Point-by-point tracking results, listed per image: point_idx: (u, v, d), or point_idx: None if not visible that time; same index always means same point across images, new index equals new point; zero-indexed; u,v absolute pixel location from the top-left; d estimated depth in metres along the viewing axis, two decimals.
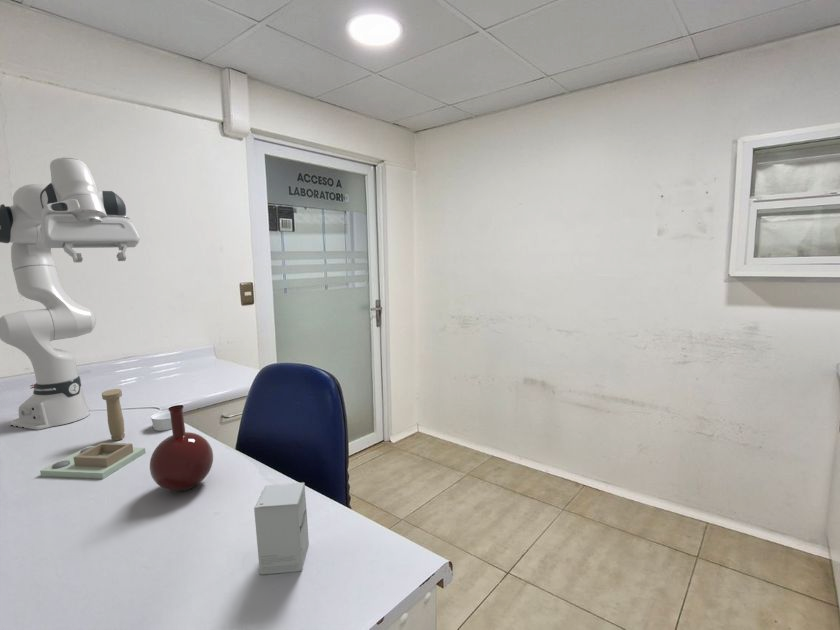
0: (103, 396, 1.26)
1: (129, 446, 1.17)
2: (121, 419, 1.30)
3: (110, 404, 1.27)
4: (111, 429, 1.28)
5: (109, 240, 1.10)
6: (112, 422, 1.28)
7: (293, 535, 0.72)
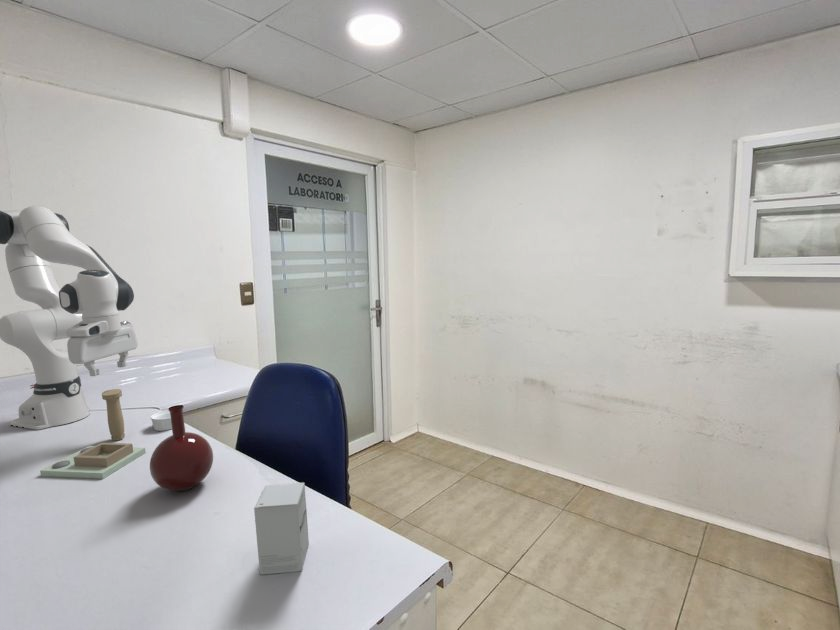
0: (103, 396, 1.26)
1: (129, 446, 1.17)
2: (121, 419, 1.30)
3: (110, 404, 1.27)
4: (111, 429, 1.28)
5: (119, 352, 1.29)
6: (112, 422, 1.28)
7: (293, 535, 0.72)
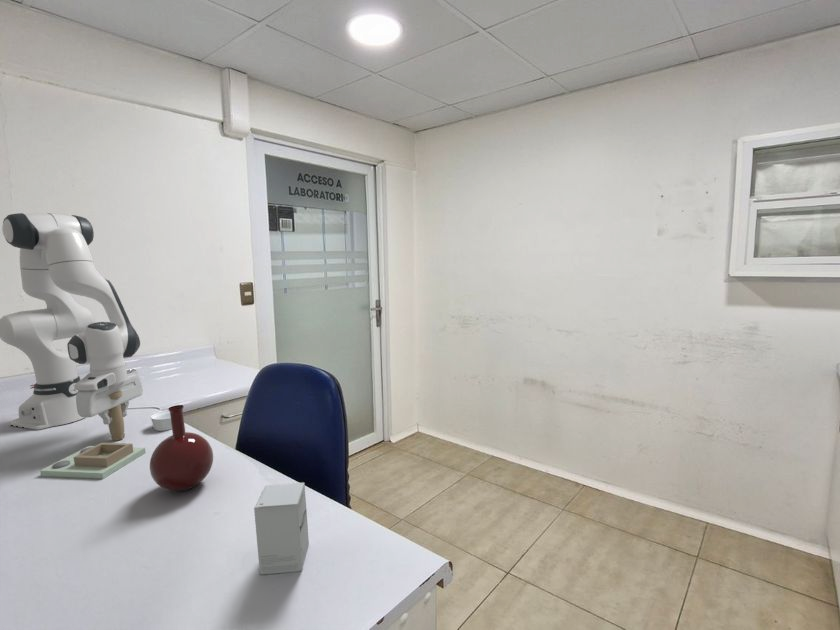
0: None
1: (129, 446, 1.17)
2: (121, 419, 1.30)
3: None
4: (111, 429, 1.28)
5: (125, 401, 1.32)
6: (112, 422, 1.28)
7: (293, 535, 0.72)
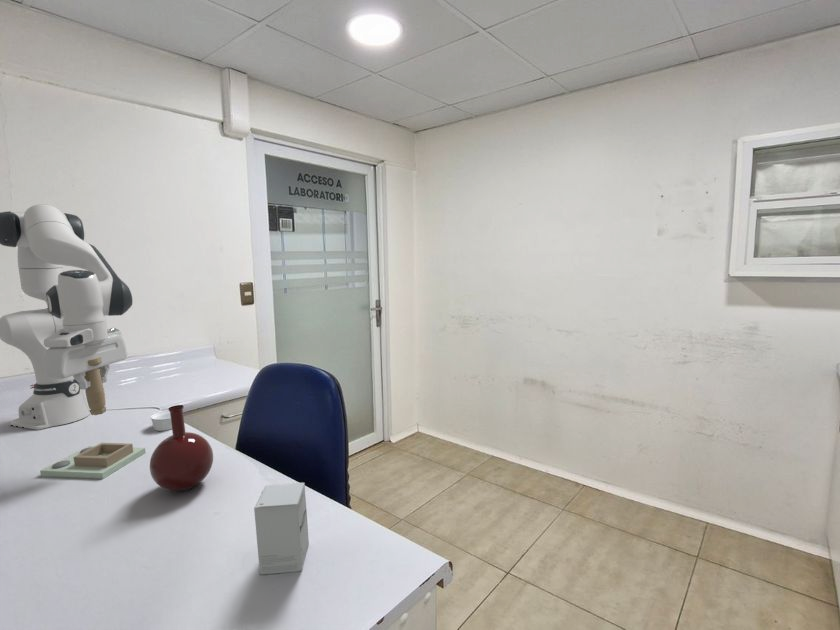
0: None
1: (129, 446, 1.17)
2: (101, 390, 1.12)
3: (87, 372, 1.09)
4: (89, 401, 1.10)
5: (106, 364, 1.13)
6: (90, 393, 1.10)
7: (293, 535, 0.72)
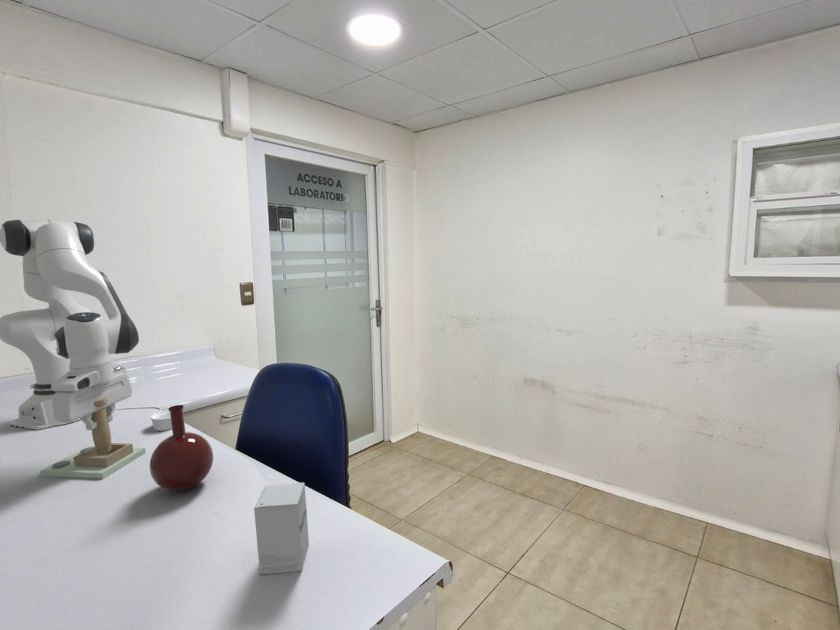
0: None
1: (129, 446, 1.17)
2: (107, 430, 1.13)
3: (93, 413, 1.11)
4: (96, 441, 1.12)
5: (112, 403, 1.15)
6: (96, 433, 1.11)
7: (293, 535, 0.72)
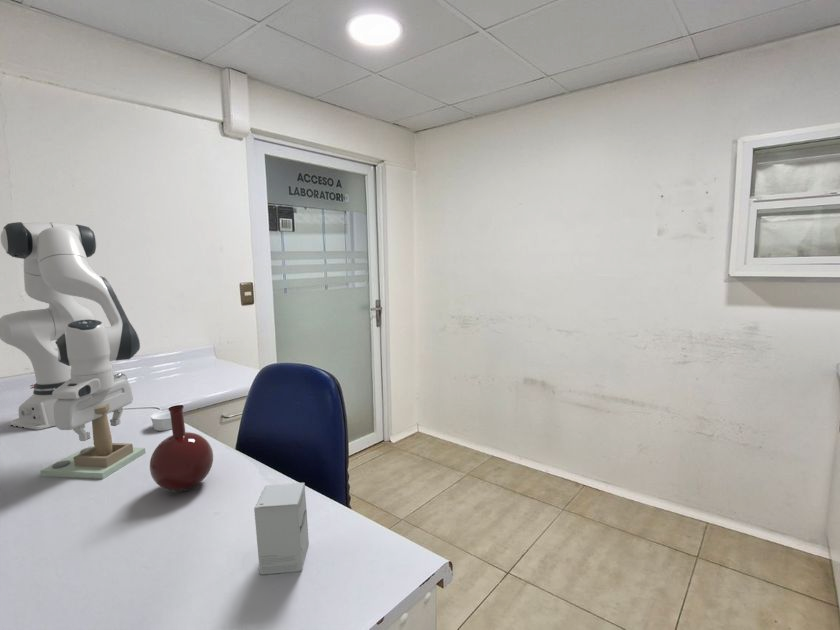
0: None
1: (129, 446, 1.17)
2: (108, 436, 1.14)
3: (95, 420, 1.11)
4: (97, 448, 1.12)
5: (113, 410, 1.15)
6: (97, 440, 1.12)
7: (293, 535, 0.72)
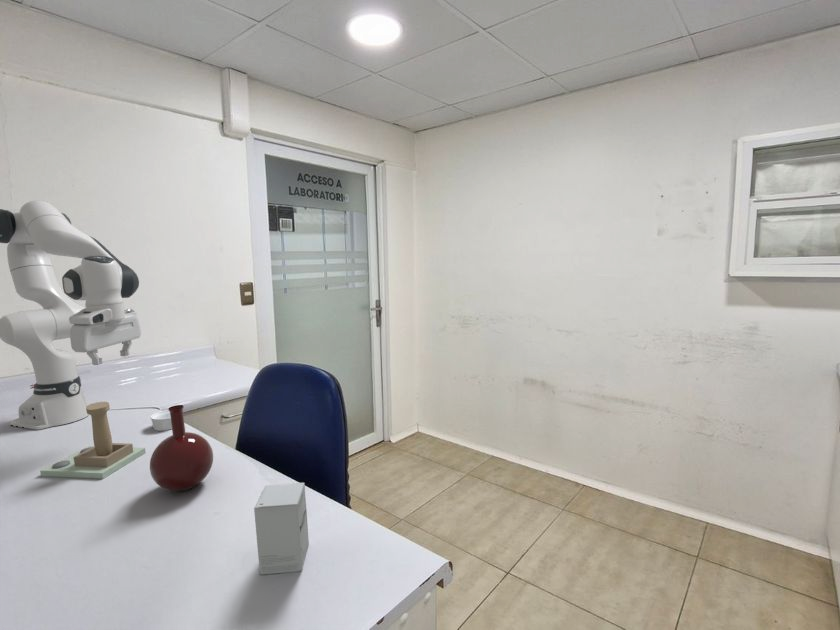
0: (87, 410, 1.10)
1: (129, 446, 1.17)
2: (108, 436, 1.14)
3: (95, 420, 1.11)
4: (97, 448, 1.12)
5: (122, 341, 1.26)
6: (97, 440, 1.12)
7: (293, 535, 0.72)
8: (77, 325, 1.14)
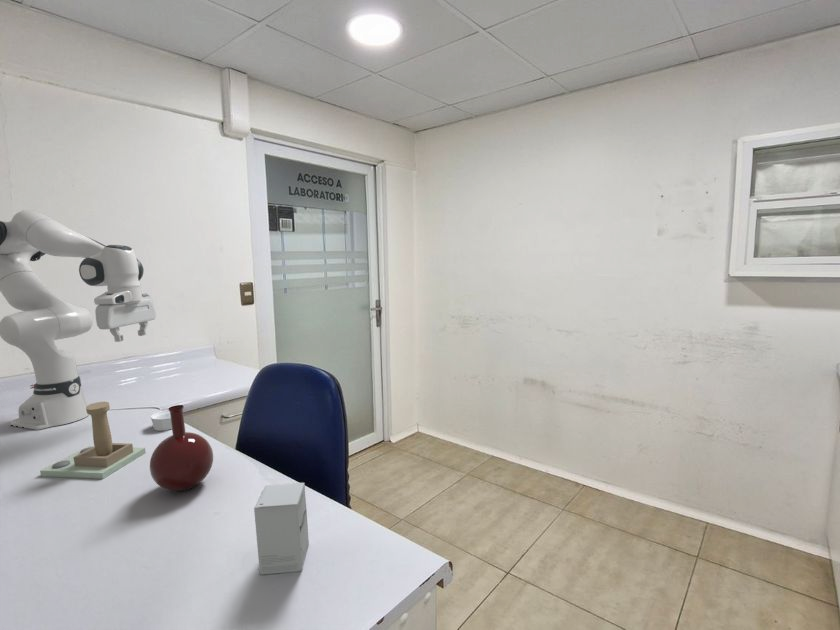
0: (87, 410, 1.10)
1: (129, 446, 1.17)
2: (109, 436, 1.14)
3: (95, 420, 1.11)
4: (97, 448, 1.12)
5: (140, 321, 1.40)
6: (97, 440, 1.12)
7: (293, 535, 0.72)
8: (101, 305, 1.29)
